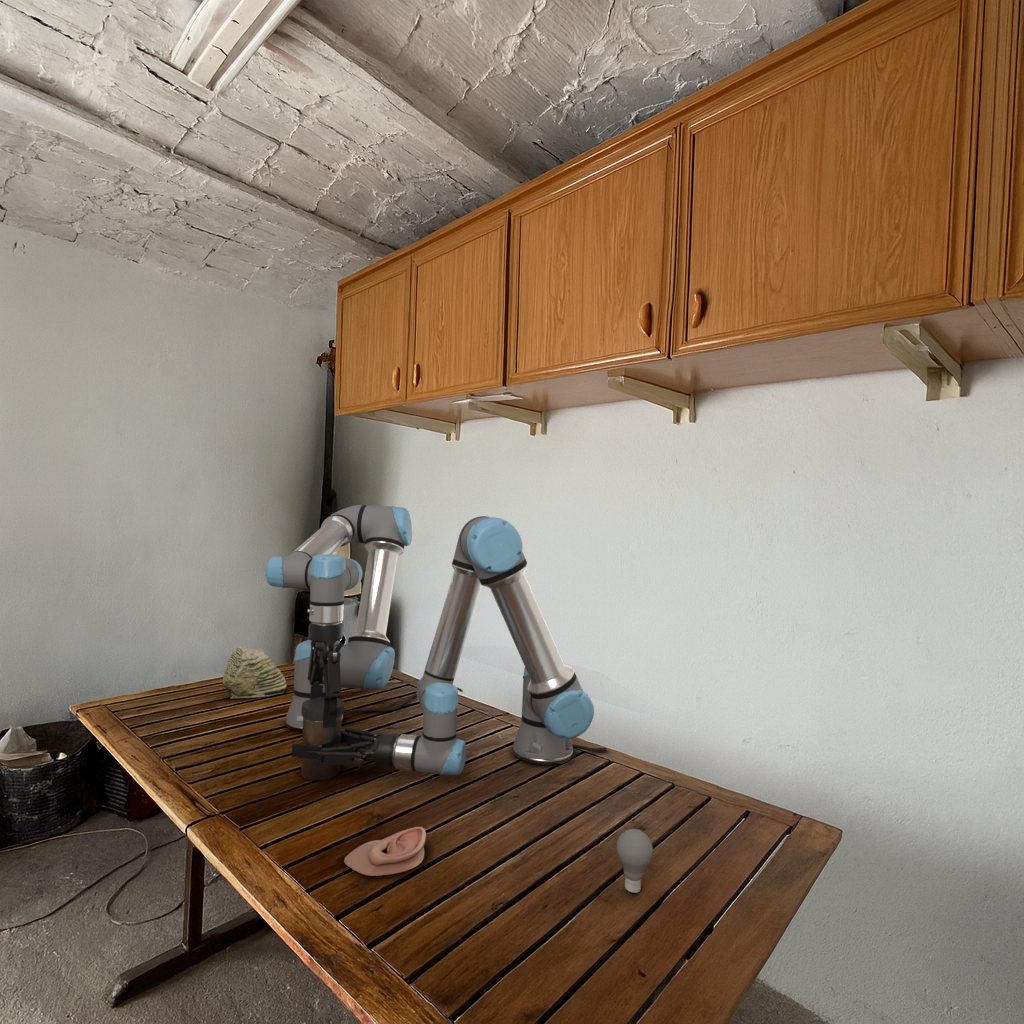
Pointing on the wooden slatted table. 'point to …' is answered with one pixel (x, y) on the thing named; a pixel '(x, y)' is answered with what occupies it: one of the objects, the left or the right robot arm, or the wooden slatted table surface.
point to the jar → (327, 739)
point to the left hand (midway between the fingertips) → (322, 719)
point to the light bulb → (634, 857)
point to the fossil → (252, 674)
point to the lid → (318, 708)
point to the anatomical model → (389, 853)
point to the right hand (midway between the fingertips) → (302, 742)
